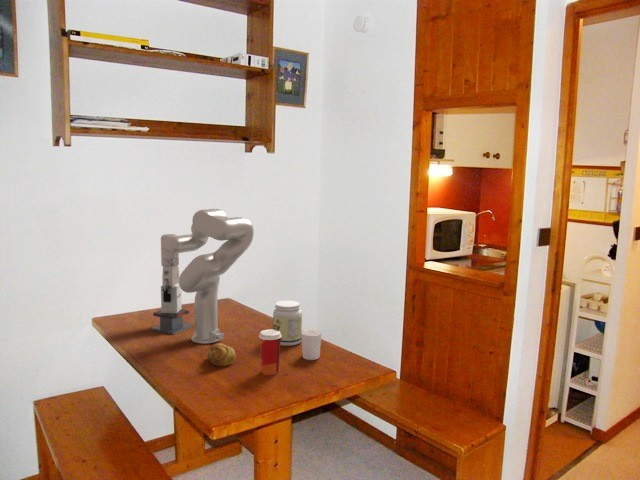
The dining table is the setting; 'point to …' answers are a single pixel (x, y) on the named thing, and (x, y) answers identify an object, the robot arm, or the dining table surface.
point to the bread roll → (221, 354)
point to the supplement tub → (288, 322)
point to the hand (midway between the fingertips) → (170, 299)
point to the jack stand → (171, 322)
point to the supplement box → (172, 301)
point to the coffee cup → (270, 351)
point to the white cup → (311, 344)
